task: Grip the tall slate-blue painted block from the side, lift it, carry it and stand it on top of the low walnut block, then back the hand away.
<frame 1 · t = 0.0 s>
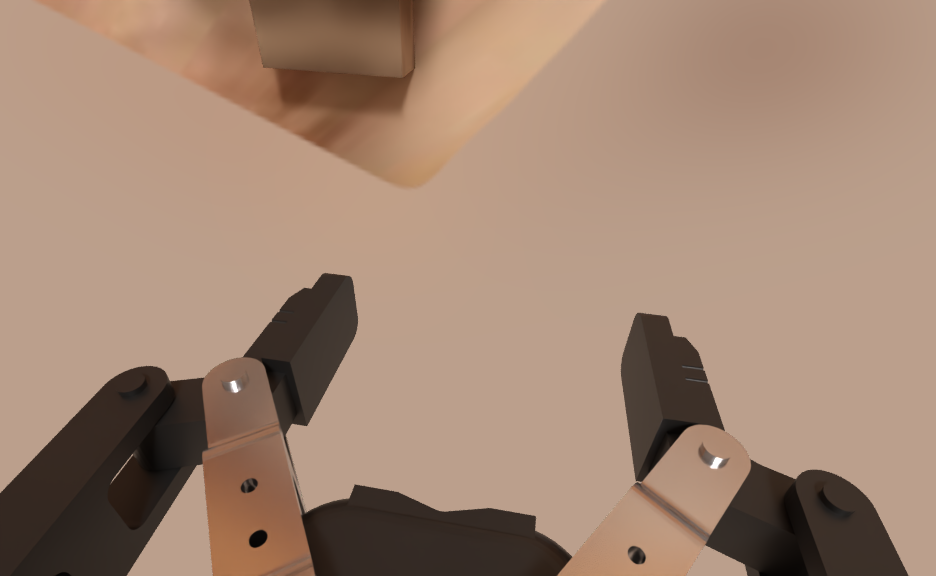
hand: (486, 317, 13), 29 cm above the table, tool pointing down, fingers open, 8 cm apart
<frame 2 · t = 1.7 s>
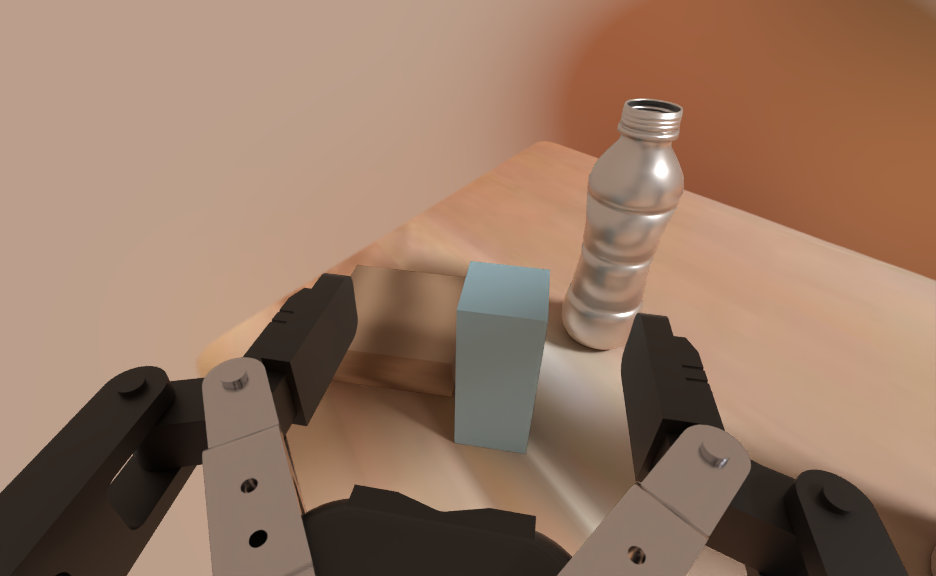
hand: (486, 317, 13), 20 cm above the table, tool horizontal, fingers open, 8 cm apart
plastic bottle: (594, 336, 43), on the table
walnut block: (401, 343, 41), on the table
blue block: (493, 419, 35), on the table
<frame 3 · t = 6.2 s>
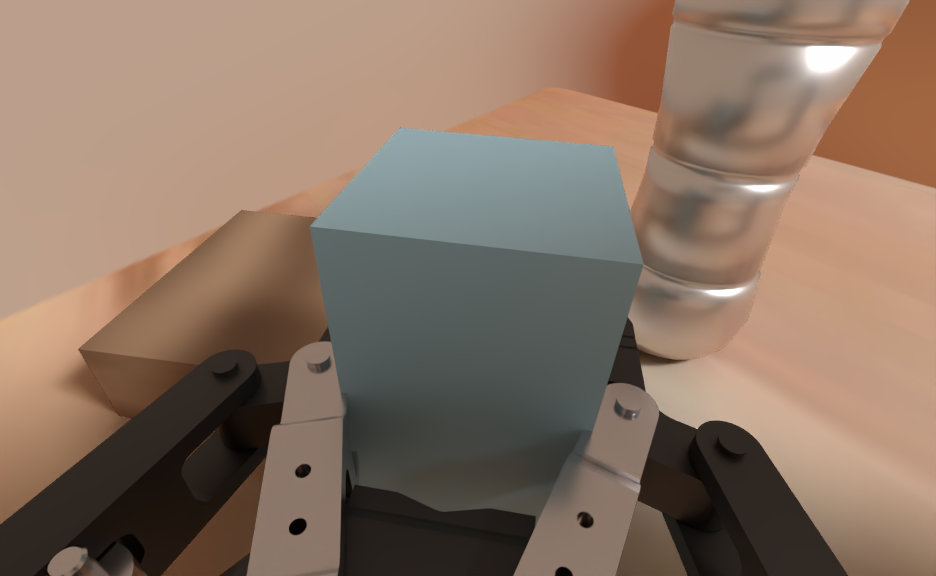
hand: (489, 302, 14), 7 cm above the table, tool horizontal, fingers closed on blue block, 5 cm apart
plastic bottle: (657, 334, 24), on the table
walnut block: (309, 345, 23), on the table
blue block: (468, 511, 16), on the table, touching gripper
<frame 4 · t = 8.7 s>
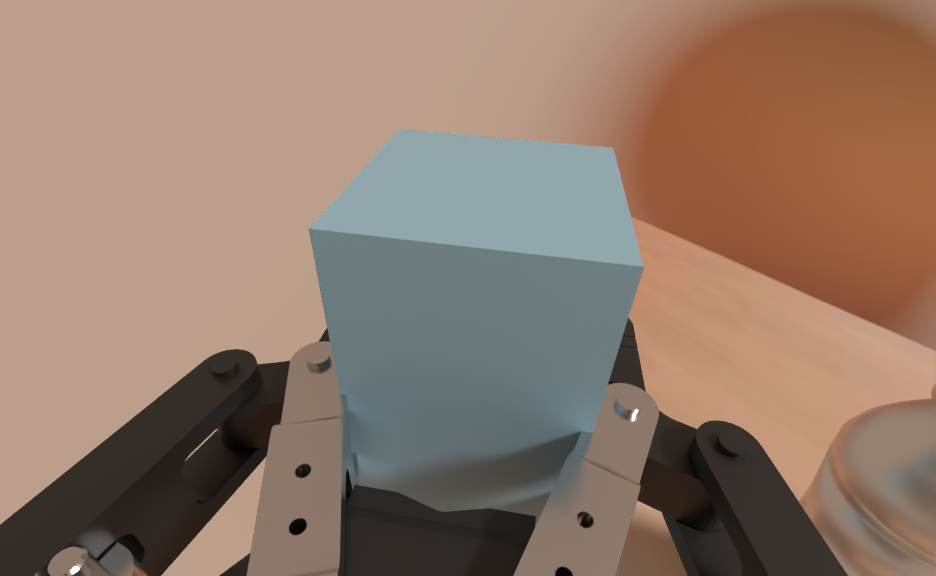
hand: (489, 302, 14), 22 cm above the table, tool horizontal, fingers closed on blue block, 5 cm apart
blue block: (468, 512, 16), point 15 cm above the table, touching gripper
when the fingers open (12 cm above the table, at t = 11.5 s): blue block drops 1 cm, resting on walnut block.
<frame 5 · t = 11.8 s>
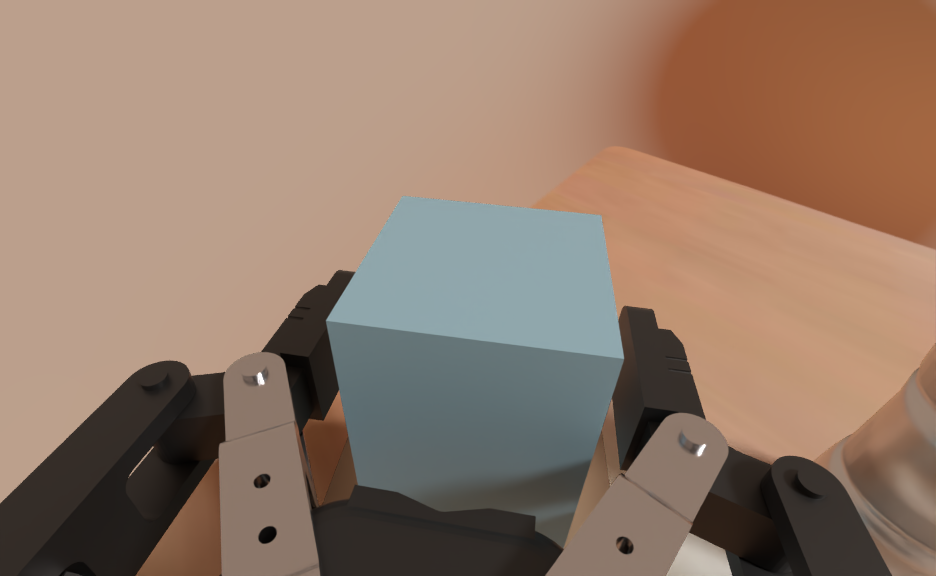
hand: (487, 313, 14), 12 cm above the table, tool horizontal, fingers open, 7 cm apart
plastic bottle: (862, 556, 20), on the table
blue block: (469, 538, 17), point 3 cm above the table, touching walnut block
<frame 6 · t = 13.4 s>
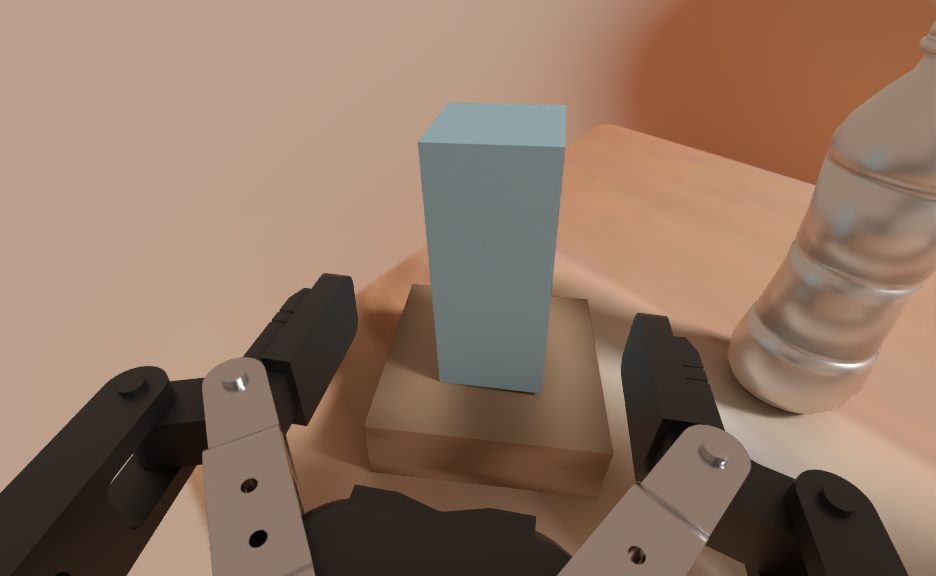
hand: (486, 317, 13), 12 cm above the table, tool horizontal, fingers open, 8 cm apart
plastic bottle: (775, 387, 29), on the table
walnut block: (489, 402, 27), on the table, touching blue block
blue block: (496, 352, 25), point 4 cm above the table, touching walnut block
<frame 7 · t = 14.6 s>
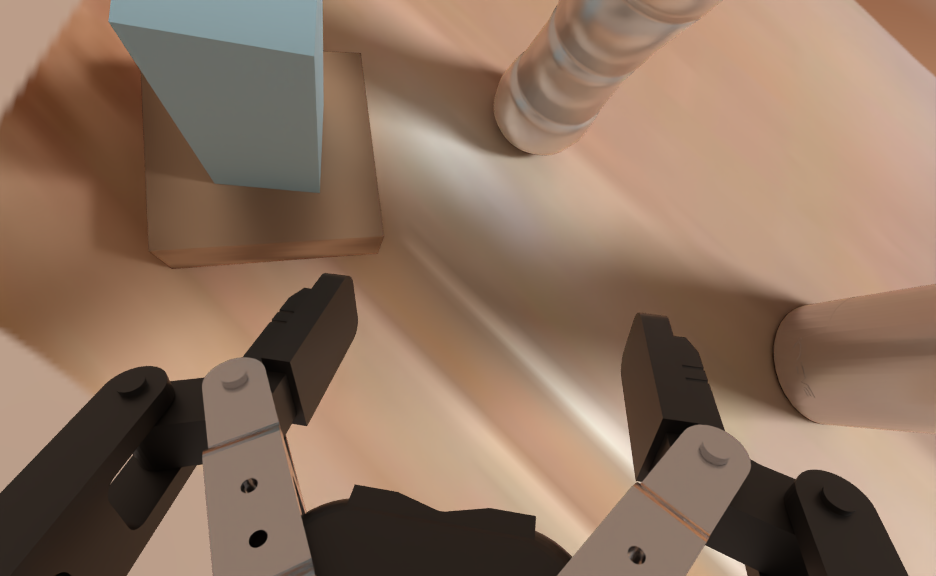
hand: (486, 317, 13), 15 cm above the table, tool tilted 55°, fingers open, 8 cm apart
plastic bottle: (528, 125, 34), on the table
walnut block: (274, 174, 28), on the table
blue block: (271, 142, 24), point 4 cm above the table
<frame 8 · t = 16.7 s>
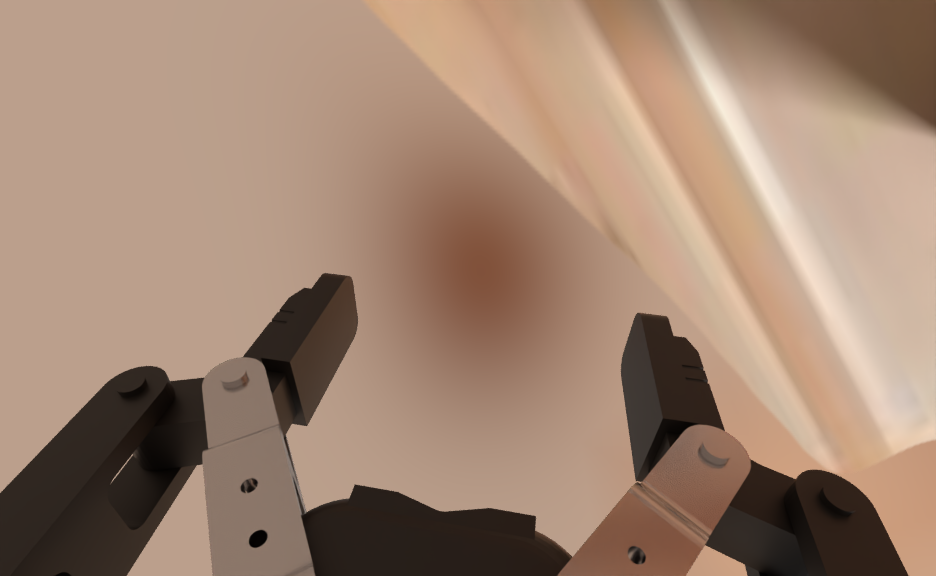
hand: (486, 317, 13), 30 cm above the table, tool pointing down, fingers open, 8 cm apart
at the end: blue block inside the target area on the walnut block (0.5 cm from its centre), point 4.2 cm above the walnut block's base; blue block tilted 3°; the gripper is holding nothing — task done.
